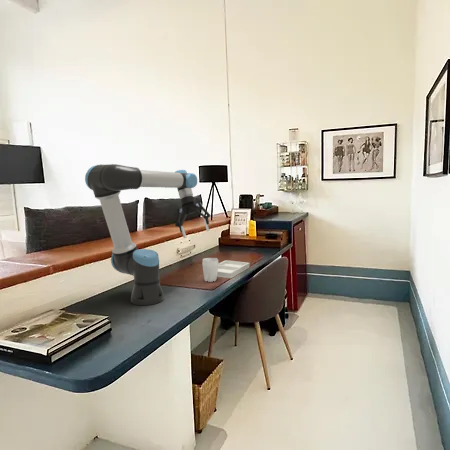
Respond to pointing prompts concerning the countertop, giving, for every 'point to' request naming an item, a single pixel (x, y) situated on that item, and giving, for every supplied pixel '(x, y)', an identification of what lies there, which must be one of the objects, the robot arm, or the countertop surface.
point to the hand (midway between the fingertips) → (196, 234)
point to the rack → (231, 268)
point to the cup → (210, 269)
